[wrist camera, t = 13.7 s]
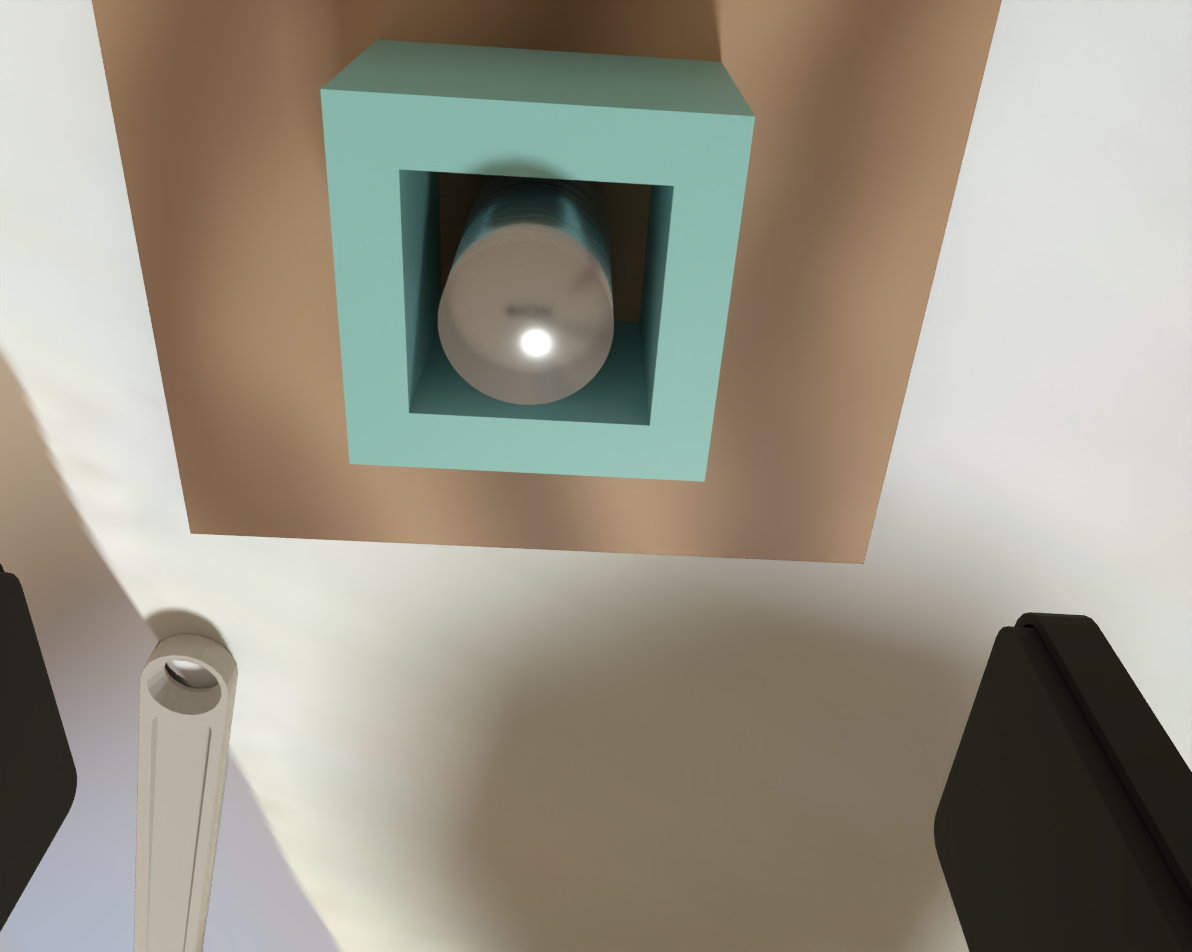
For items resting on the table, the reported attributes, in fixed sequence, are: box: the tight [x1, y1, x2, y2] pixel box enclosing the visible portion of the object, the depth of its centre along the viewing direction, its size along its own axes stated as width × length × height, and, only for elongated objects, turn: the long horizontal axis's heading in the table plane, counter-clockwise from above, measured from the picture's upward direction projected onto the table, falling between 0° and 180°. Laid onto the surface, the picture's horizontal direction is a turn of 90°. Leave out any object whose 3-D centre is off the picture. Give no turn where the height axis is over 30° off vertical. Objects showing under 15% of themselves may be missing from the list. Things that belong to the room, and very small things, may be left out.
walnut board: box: [92, 0, 1002, 564], centre depth 23 cm, size 18×18×2 cm
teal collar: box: [320, 40, 755, 482], centre depth 20 cm, size 7×7×5 cm
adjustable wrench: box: [134, 634, 238, 952], centre depth 37 cm, size 25×6×2 cm, turn 160°
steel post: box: [438, 175, 614, 405], centre depth 20 cm, size 3×3×6 cm
